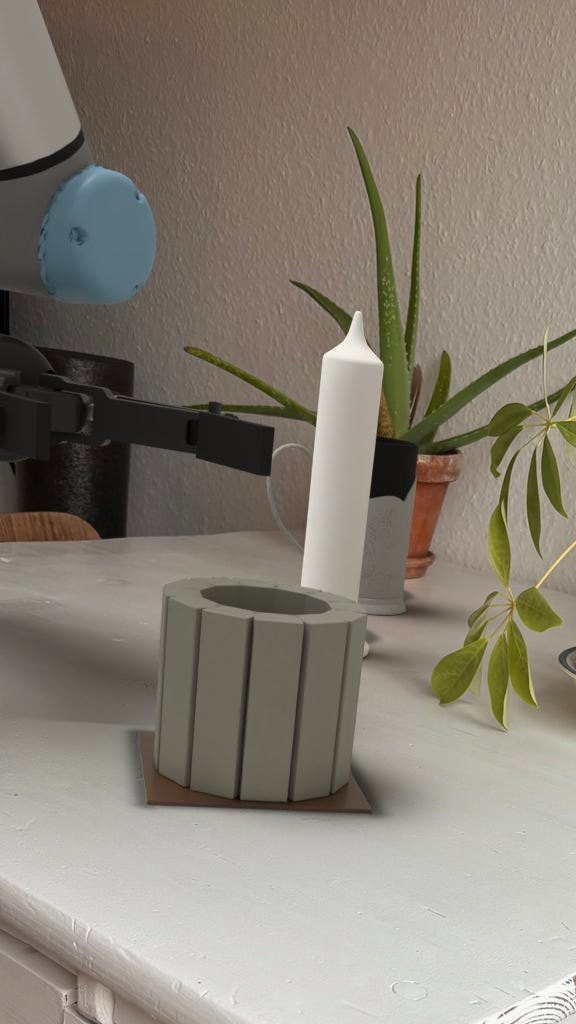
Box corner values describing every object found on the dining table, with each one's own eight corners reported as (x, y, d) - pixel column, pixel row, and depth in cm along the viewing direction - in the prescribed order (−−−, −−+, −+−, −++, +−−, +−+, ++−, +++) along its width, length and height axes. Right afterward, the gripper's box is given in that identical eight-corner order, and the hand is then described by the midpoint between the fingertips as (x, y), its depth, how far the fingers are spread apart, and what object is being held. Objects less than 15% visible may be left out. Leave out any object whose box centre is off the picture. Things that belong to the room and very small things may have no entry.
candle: (293, 658, 98) (327, 304, 89) (268, 635, 104) (297, 301, 95) (380, 661, 101) (421, 320, 92) (351, 639, 107) (387, 316, 98)
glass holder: (418, 617, 119) (440, 450, 114) (269, 608, 114) (284, 431, 108) (388, 596, 127) (407, 438, 121) (246, 587, 121) (259, 420, 116)
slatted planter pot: (159, 797, 62) (170, 612, 59) (150, 734, 71) (158, 570, 67) (363, 805, 65) (384, 630, 62) (329, 744, 74) (346, 588, 70)
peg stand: (145, 829, 62) (152, 688, 59) (136, 756, 71) (142, 632, 69) (369, 837, 65) (385, 704, 63) (331, 766, 75) (344, 648, 72)
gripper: (148, 466, 92) (337, 522, 78) (-231, 439, 74) (-71, 504, 61) (155, 354, 89) (351, 392, 76) (-237, 299, 72) (-71, 335, 58)
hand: (163, 442), depth 68 cm, fingers open, 13 cm apart
